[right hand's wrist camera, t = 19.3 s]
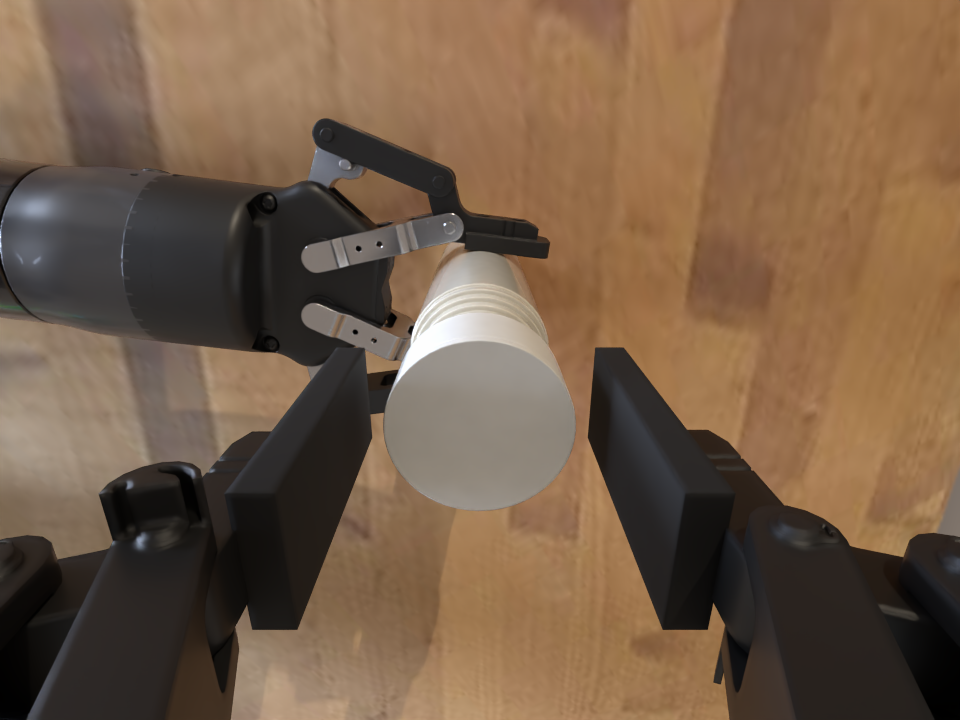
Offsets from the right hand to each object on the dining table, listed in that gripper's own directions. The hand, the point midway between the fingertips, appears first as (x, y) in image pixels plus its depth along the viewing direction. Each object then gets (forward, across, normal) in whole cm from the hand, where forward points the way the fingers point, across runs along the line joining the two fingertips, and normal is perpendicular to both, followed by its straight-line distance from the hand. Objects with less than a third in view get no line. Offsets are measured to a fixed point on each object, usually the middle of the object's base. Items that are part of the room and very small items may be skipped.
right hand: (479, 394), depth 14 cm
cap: (-2, 0, 0) cm, 2 cm away
